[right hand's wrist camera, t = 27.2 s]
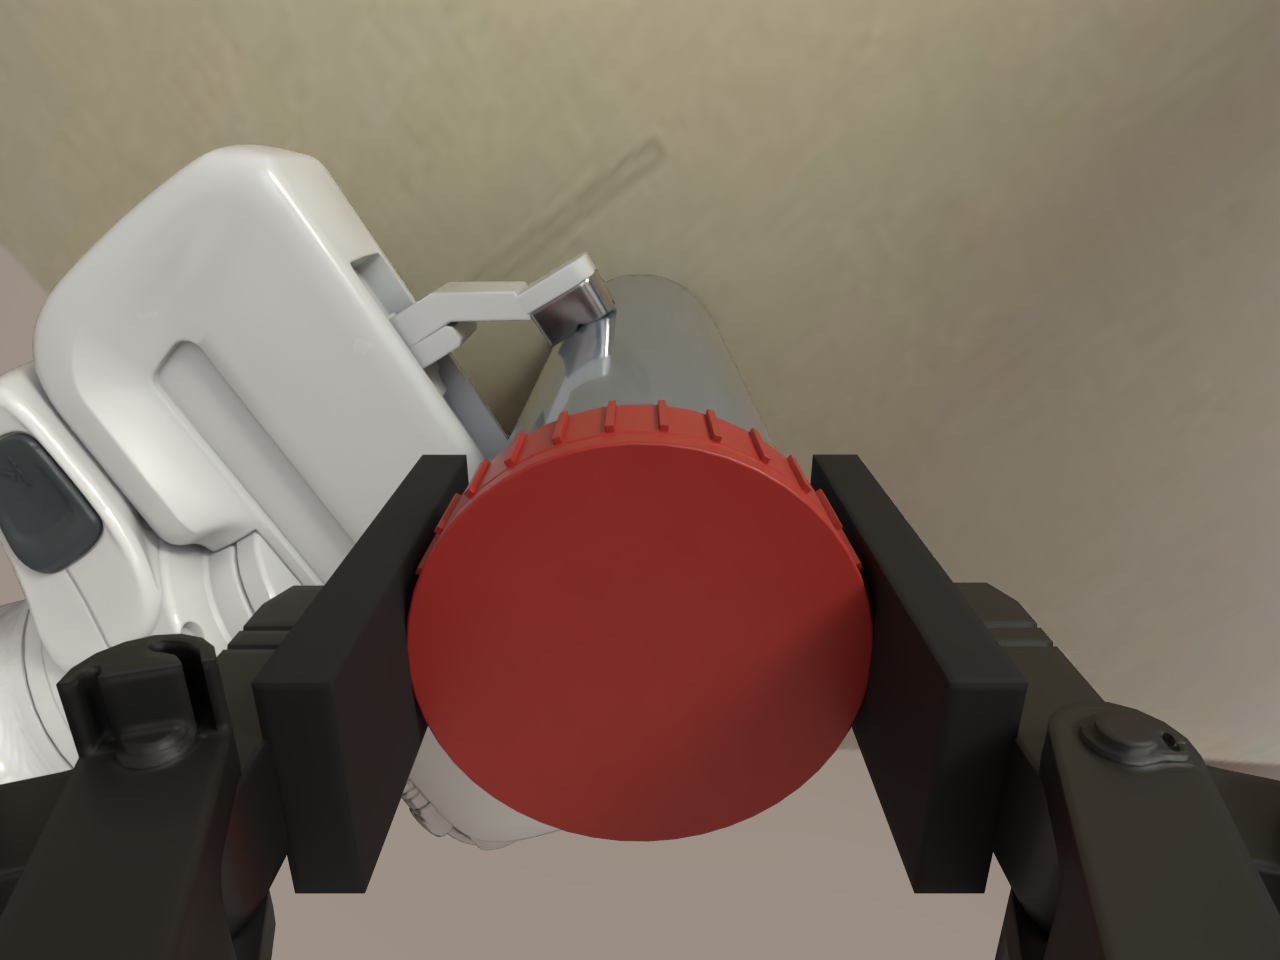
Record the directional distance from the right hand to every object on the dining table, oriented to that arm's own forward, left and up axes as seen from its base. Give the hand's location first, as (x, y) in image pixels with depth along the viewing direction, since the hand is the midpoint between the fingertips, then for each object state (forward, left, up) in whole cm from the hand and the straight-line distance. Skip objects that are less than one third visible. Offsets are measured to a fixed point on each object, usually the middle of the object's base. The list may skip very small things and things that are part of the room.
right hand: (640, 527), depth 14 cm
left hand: (0, +1, -7) cm, 7 cm away
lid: (0, 0, +4) cm, 4 cm away
